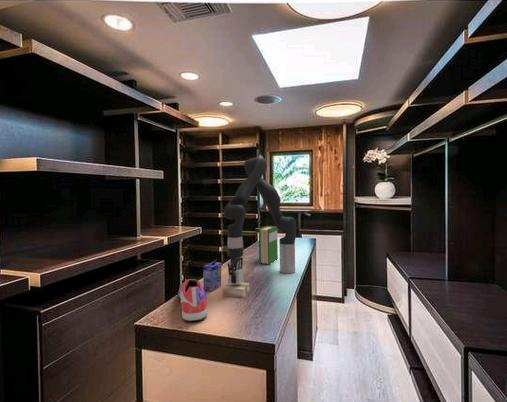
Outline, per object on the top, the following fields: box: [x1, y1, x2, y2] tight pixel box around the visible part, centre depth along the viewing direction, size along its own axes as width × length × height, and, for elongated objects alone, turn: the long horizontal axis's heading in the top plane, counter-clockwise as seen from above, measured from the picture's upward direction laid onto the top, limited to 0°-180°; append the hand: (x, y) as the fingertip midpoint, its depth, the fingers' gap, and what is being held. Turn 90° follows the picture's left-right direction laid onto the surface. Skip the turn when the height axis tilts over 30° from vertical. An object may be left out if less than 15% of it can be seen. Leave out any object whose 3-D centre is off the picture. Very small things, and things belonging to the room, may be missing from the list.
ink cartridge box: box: [202, 259, 222, 292], centre depth 147 cm, size 10×6×14 cm, turn 158°
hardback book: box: [258, 225, 279, 266], centre depth 201 cm, size 18×7×24 cm, turn 157°
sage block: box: [228, 268, 244, 285], centre depth 139 cm, size 5×5×6 cm
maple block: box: [222, 282, 251, 298], centre depth 139 cm, size 10×10×4 cm
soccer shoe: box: [177, 278, 208, 323], centre depth 124 cm, size 12×36×13 cm, turn 15°
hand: (236, 281), depth 139 cm, fingers closed on sage block, 5 cm apart
